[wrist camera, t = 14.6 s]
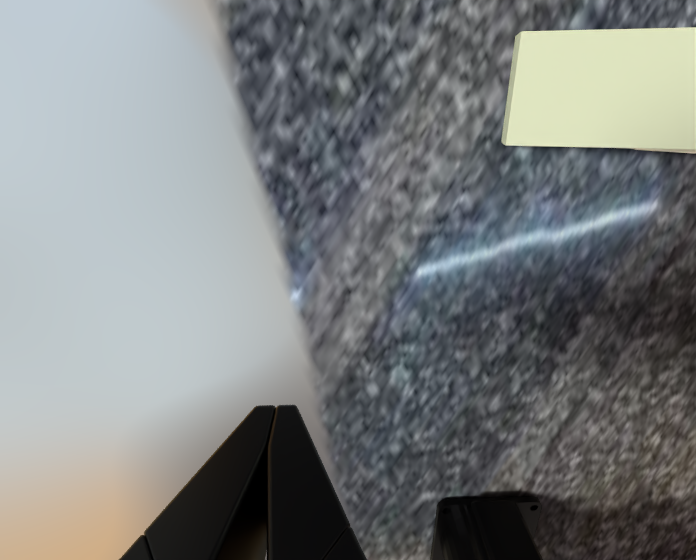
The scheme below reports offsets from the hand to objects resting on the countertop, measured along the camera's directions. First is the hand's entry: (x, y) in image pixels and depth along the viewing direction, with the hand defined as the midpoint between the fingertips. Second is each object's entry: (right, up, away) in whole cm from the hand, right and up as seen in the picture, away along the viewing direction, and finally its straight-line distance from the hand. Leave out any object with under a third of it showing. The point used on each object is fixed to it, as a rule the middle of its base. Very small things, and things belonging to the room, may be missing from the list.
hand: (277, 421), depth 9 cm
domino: (+8, +11, +8) cm, 15 cm away
